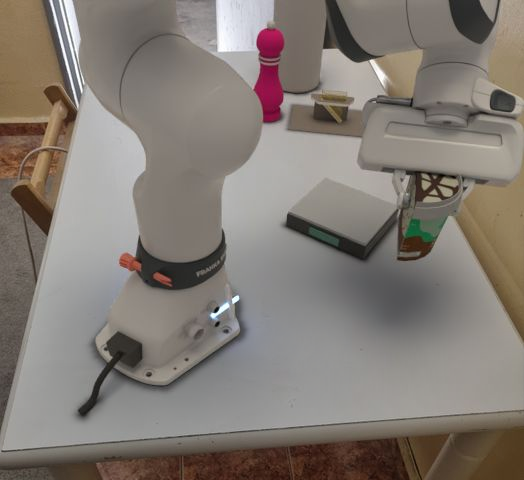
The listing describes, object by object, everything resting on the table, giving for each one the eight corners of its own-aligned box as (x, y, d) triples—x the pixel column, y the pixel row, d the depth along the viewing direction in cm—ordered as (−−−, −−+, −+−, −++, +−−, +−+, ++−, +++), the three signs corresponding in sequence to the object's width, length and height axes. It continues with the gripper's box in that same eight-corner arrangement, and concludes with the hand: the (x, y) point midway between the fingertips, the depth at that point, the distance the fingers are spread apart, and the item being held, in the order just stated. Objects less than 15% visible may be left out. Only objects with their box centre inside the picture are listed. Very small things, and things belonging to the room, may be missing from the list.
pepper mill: (259, 125, 119) (262, 28, 104) (247, 111, 123) (248, 16, 108) (287, 120, 121) (294, 24, 106) (274, 106, 125) (279, 12, 110)
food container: (443, 275, 68) (470, 212, 60) (395, 267, 68) (416, 204, 60) (440, 217, 75) (464, 155, 67) (398, 211, 76) (417, 148, 68)
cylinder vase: (267, 72, 137) (272, -42, 118) (314, 72, 138) (326, -42, 119) (273, 94, 129) (279, -25, 110) (322, 93, 130) (337, -25, 111)
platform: (367, 137, 117) (373, 108, 112) (289, 129, 118) (291, 100, 113) (367, 112, 125) (373, 84, 120) (293, 105, 126) (296, 77, 121)
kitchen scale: (362, 260, 90) (365, 245, 88) (285, 226, 96) (286, 212, 93) (396, 220, 98) (400, 205, 96) (323, 190, 103) (325, 176, 101)
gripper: (367, 82, 64) (349, 196, 65) (538, 102, 62) (515, 218, 63) (363, 102, 70) (346, 206, 71) (518, 120, 68) (497, 226, 69)
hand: (427, 212), depth 67 cm, fingers closed on food container, 5 cm apart
